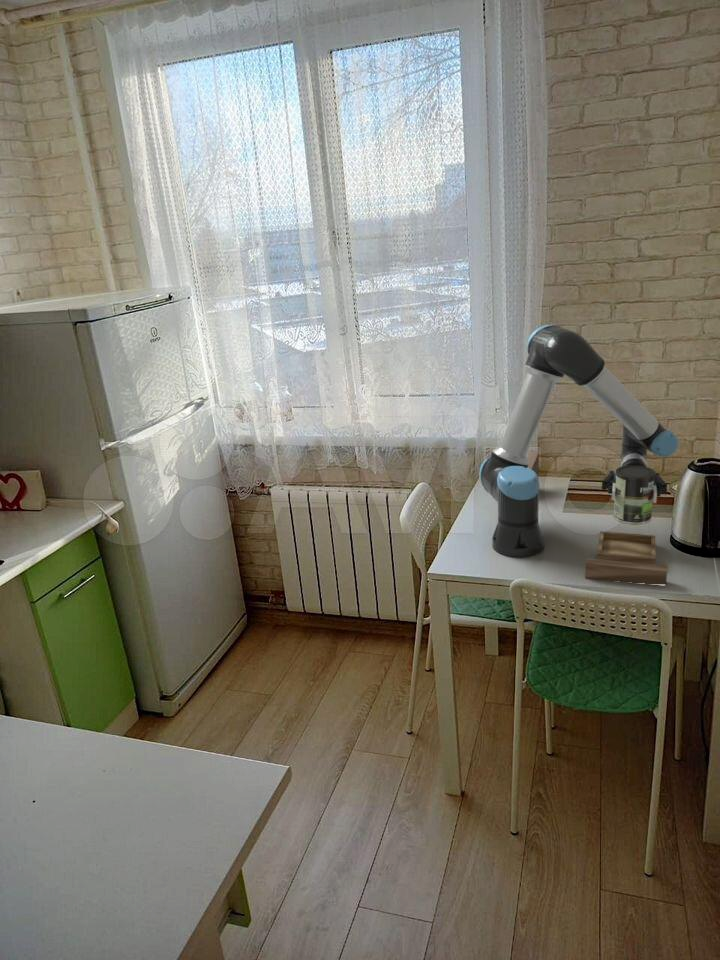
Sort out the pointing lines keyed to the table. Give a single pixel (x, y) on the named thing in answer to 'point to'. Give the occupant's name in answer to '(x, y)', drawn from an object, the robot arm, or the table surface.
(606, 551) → the brown wooden tray
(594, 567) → the block
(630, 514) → the coffee can
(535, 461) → the wooden block
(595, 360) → the robot arm
